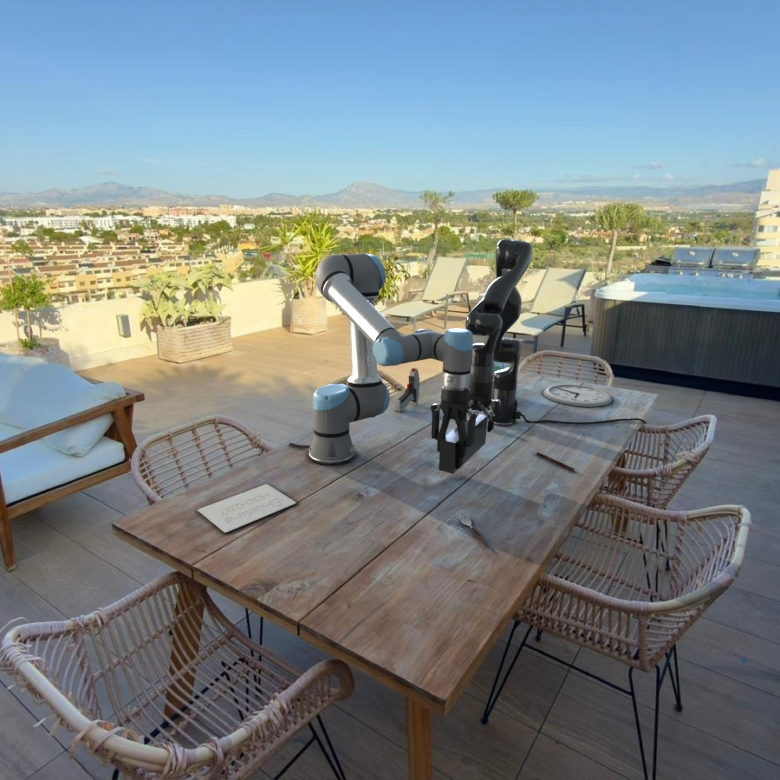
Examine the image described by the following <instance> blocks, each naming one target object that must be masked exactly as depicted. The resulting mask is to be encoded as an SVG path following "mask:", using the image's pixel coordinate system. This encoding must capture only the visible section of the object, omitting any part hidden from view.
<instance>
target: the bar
mask: <svg viewBox="0 0 780 780" xmlns="http://www.w3.org/2000/svg"><path fill="white" fill-rule="evenodd" d="M468 421H469V418H468V417H466V420H465V422H464V423H465V429H466V436H467V432H468ZM487 427H488V418H487V416H486V415H485V414H480V413H479V414H478V416H477V418H476V424H475V436H474V444H473V445H472V446H470V447H467V451H466V456H465V457H464V458H463V464H462V466H464V464H466V463H467V462H468V461H469V460H470V459H471V458H472V457H473V456H474V455H475V454H476V453H477V452H478V451H479V450H480V449H481V448H482V447H484V445H485V444H486V443H487V442H486V441H487ZM458 446H460V441H459V435H458V429H457V426H456V427H454V428H453V429H452V430H450V431H449V432H448V433H446V434H445V436H444V437H443V438H442V439H440V452H439V459H438V471H441V472H444V473H448V474H453V475H454V474H455V473H456V472H457V471H458V470H459V469H456V463H457V448H458Z"/></svg>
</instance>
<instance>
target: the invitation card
mask: <svg viewBox="0 0 780 780" xmlns="http://www.w3.org/2000/svg"><path fill="white" fill-rule="evenodd" d="M296 504H297V501H295V500H294V499H291V498H290V497H289V496H287V495H285V494H283V493H282V492H280V491H279V490H277V489H276V488H274V487H273V486H271V485H269V484H267V483H265V484H263V485H260V486H257V487H254V488H251V489H249V490H245V491H244V492H241V493H238V494H235V495H232V496H230V497H227V498H224V499H222V500H219V501H216V502H214V503H211V504H209V505H206V506H203V507H201V508H198V509H197V510H196V511H197V512H198V513H200V514H201V515H202V516H203V517H205V519H207V520H209V522H211V523H212V524H213V525H215V526H216V527H217V528H218V529H219V530H221V532H223V533H224V534H227V533H229V532H231V531H234V530H236V529H239V528H241V527H243V526H246V525H248V524H251V523H253V522H256V521H258V520H260V519H263V518H265V517H267V516H270V515H272V514H275V513H277V512H279V511H281V510H284V509H287V508H289V507H291V506H294V505H296Z"/></svg>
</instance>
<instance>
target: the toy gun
mask: <svg viewBox="0 0 780 780" xmlns="http://www.w3.org/2000/svg"><path fill="white" fill-rule="evenodd" d="M420 380H421V379H420V373H419V370H418V368H416V367H412V368H411V369H410V371H409V375H408V383H406V389H405V391H404V393H403V394H402V395H400V396H399V398H398V399H397V398H396V399H395V400H394V411H395V412H400V413H401V412H402V411H403V410H404V409H406V408H407V407H408V405H409V404H410V403H411V402H412V404H415V405H418V403H419V397H420V389H421V388H420V384H421V383H420V382H421V381H420Z"/></svg>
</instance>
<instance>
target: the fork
mask: <svg viewBox="0 0 780 780" xmlns="http://www.w3.org/2000/svg"><path fill="white" fill-rule="evenodd" d="M457 512H458V516H459V519H460V521H461V523H462V524H463V525H464V526H468V527H469V528H470V529H471V531H472V533H473V534H474V537H476V539H478V541H480V543H481V544H482V545H483V546H484V547H485V548H486V549H489V547H488V545H487V543H486V541H485V540H484V539H483V537H482V535H481V534H480V532H479V531H477V529H475V528H474V527H473V525H472V519H471V518H470V516H469V514H468V511H467V510H464V509H462V510H459V509H457ZM465 512H466V513H465Z"/></svg>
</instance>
